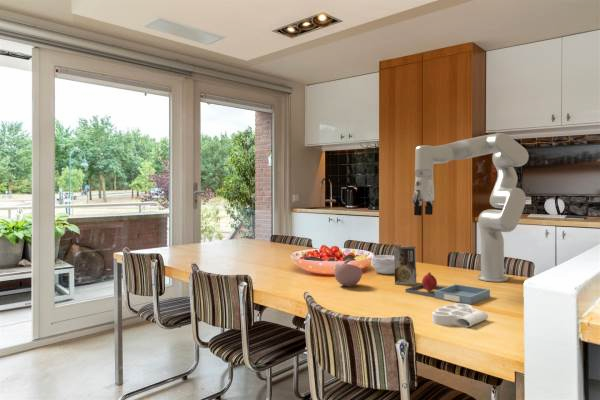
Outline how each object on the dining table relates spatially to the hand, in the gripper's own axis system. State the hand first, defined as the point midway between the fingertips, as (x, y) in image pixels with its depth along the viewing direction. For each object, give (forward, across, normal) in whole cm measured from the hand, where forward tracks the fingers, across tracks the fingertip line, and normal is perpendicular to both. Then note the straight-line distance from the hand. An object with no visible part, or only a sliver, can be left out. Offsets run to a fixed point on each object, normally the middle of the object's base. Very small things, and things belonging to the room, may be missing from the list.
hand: (423, 214), depth 187 cm
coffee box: (+31, +1, +9) cm, 32 cm away
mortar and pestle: (+32, -19, +25) cm, 44 cm away
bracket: (+31, -7, -7) cm, 32 cm away
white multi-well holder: (+32, -36, -30) cm, 57 cm away
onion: (+31, -7, -7) cm, 32 cm away
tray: (+30, -8, -21) cm, 38 cm away
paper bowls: (+31, +18, +28) cm, 45 cm away
